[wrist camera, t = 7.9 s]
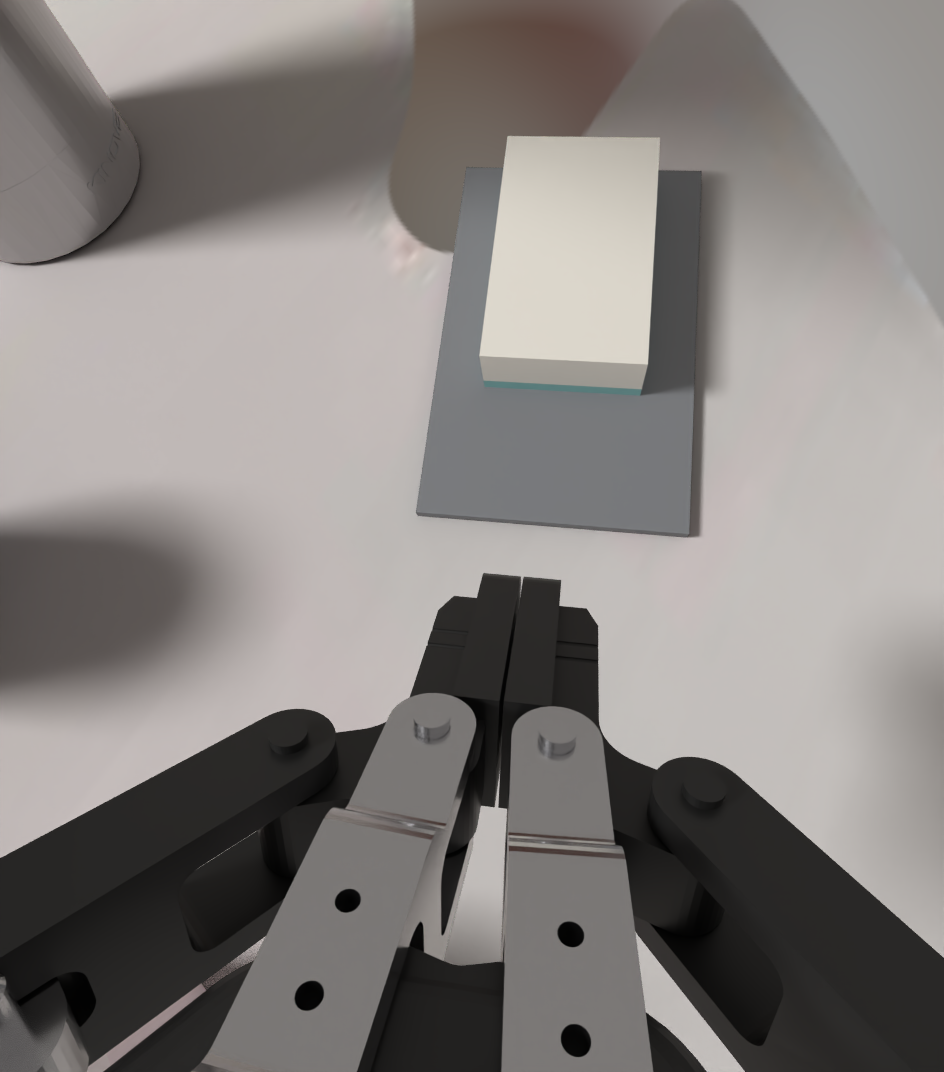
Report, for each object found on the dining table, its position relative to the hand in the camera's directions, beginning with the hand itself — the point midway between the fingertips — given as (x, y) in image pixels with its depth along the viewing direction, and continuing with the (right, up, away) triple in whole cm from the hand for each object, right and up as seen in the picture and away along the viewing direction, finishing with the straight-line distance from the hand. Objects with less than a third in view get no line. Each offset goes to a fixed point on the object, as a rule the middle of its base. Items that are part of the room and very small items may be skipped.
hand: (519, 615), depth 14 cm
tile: (+2, +8, +13) cm, 15 cm away
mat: (+3, +10, +15) cm, 18 cm away
